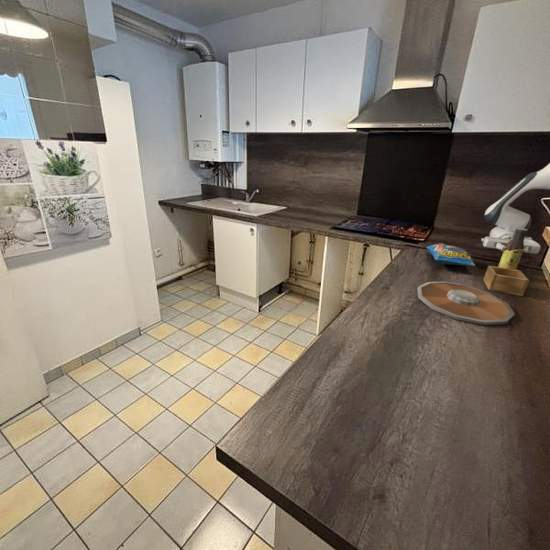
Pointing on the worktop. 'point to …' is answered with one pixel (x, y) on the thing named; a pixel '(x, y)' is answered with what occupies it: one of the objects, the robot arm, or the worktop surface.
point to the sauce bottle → (513, 250)
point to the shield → (465, 303)
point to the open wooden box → (505, 280)
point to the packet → (450, 255)
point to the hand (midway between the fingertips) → (514, 249)
